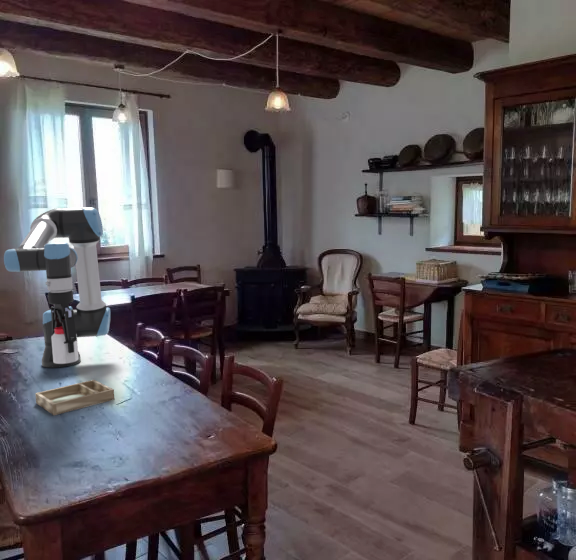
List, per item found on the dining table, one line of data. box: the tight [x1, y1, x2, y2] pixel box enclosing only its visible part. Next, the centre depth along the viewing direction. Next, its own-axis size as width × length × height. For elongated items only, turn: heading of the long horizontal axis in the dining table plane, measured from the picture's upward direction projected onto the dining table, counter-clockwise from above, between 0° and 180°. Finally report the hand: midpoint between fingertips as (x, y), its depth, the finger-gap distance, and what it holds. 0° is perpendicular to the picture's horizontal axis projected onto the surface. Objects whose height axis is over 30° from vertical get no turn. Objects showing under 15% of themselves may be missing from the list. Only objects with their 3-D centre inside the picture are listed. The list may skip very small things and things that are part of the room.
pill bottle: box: [51, 326, 79, 364], centre depth 184 cm, size 8×8×11 cm
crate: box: [34, 379, 116, 416], centre depth 188 cm, size 16×20×4 cm
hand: (65, 359), depth 185 cm, fingers closed on pill bottle, 8 cm apart
